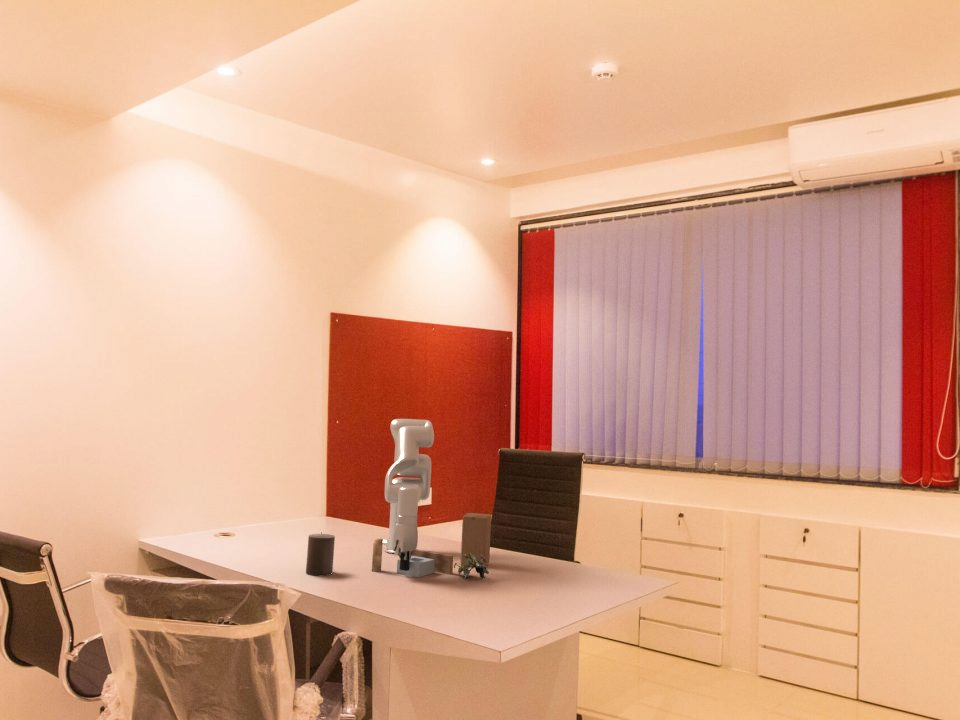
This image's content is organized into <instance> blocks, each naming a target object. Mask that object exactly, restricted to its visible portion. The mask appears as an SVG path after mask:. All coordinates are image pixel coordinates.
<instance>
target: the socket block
mask: <svg viewBox="0 0 960 720" xmlns="http://www.w3.org/2000/svg"><path fill="white" fill-rule="evenodd" d="M434 573H435V572H434V559H429V558H423V557H417V556H411V559H410V565H409V570H407V571H404V570H400V559H398V558H397V563H396V574H399V575H404V576H405V575H406V576H411V577H416V578H421V577H424V576H428V575H430V574H434Z"/></svg>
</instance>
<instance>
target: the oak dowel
mask: <svg viewBox="0 0 960 720" xmlns="http://www.w3.org/2000/svg"><path fill="white" fill-rule="evenodd" d="M383 540H384V539H383V538H374V539H373V540H372V541H373V542H372V545H373V546H372V562H371V572H373V573H380V571H381V572H382V564H383V563H382V561H383V545H384V544H383Z"/></svg>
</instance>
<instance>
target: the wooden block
mask: <svg viewBox="0 0 960 720" xmlns="http://www.w3.org/2000/svg"><path fill="white" fill-rule="evenodd" d="M461 524H462V526H461V527H462V528H461V529H462V530H461V545H460V546H461V548H460V565H459V566H460V567H461V566H463V565H467V563H468V560H467V559H466V558H465V554H466V556H468V557H469V553H471V554H473V555H474V556H475V557H476V558H478V559H479V560H481V557H480V556H479V555H482V556H483V557H484V558H485V559H486V561H487V562H485V561H484V560H482V561H483V562H484V563H483V564H484V565H485V566H486V567H488V565H489V564H490V555H491V554H490V552H491V550H490V549H491V532H492V530H491V529H492V514H489V513H488V514H487V513H478V512H477V513H476V512H475V513H474V512H467V513H465V514H464V515H463V516H462V523H461ZM472 566H473V565H470V566H469V568H472Z"/></svg>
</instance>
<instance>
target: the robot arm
mask: <svg viewBox="0 0 960 720" xmlns="http://www.w3.org/2000/svg"><path fill="white" fill-rule="evenodd" d="M432 423H433V422H431V420H428V419H414V418H395V419H392V421H391V422H390V426H389V427H390V432H391V433H390V434H391V435H392V438H393V441H394V446H395V447H394V459H393V460H394V461H393V462H394V463H392V465H390V467H389V468H388V470H387V472H386V475H385V479H384V498H385V499H384V500H385V502H387V503H390V505H389V506H390V507H389V525H388V527H389V528H388V529H389V530H388V539H386V538H385V539H383V545H384V546H386V547H384V552H385V551H386V552H385V553H387V552H389V553H388V554H392V553H394V555H395V556H398V557H399V559H400V570H404V571H407V570H409V565H410V559H411V554H412V553H413V552H415V549H418V542H419V541H418V540H419V536H418V531H419V530H418V508H419V503H420V501H425V500H428V498H429V497H430V492H431V481H432V478H431V477H432V459H431V457H430V456H429V455H428V454H423V453H419V452H420V451H419V449H420V448H431V447H432V446H433V445H434V441H435V432H434V428H433V424H432ZM396 475H398V476H402V477H395V476H396ZM394 477H395V478H394Z"/></svg>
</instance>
